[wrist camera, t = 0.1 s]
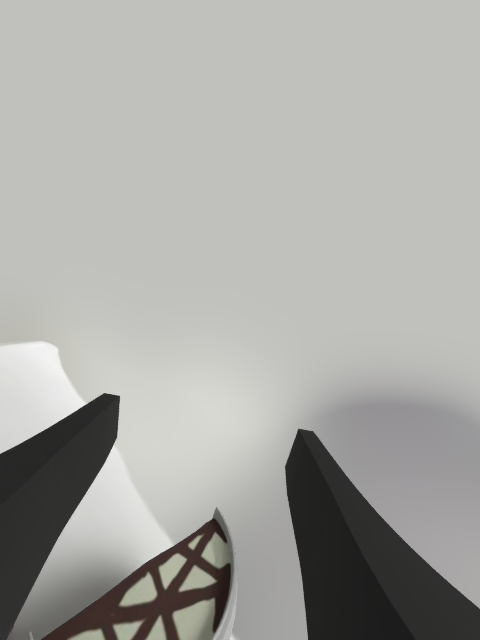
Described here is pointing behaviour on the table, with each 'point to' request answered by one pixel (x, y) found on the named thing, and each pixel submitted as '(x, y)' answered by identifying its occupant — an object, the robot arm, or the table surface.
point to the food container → (168, 595)
